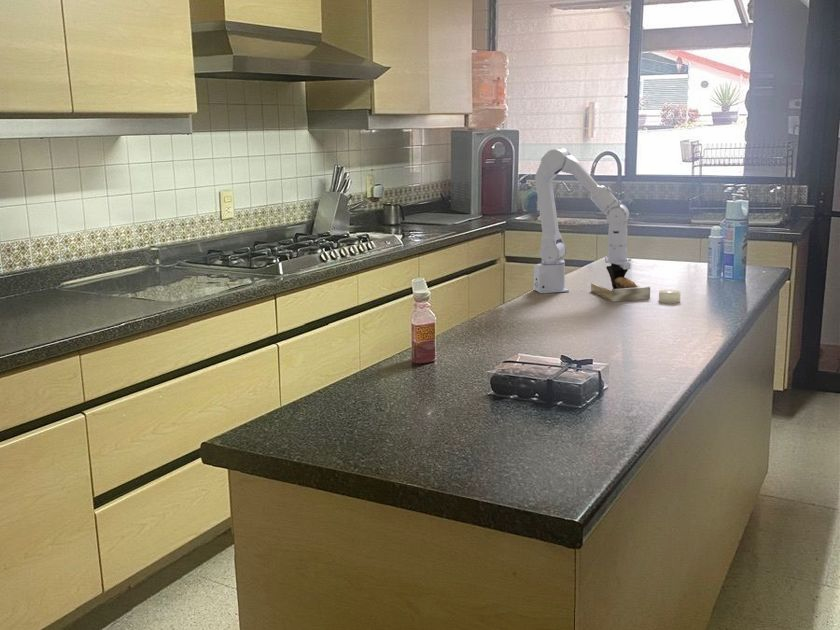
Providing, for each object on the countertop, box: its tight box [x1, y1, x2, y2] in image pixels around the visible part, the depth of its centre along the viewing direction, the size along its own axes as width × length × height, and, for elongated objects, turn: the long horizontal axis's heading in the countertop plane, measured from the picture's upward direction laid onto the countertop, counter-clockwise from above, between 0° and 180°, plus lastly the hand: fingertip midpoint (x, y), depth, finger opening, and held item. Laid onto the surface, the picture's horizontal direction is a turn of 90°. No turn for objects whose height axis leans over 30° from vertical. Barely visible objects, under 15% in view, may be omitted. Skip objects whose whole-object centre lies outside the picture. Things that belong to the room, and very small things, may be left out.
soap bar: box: [658, 289, 682, 304], centre depth 249 cm, size 6×6×3 cm
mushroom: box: [614, 276, 637, 289], centre depth 257 cm, size 8×8×6 cm
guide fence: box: [590, 282, 651, 302], centre depth 260 cm, size 12×17×4 cm
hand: (616, 289), depth 262 cm, fingers closed
